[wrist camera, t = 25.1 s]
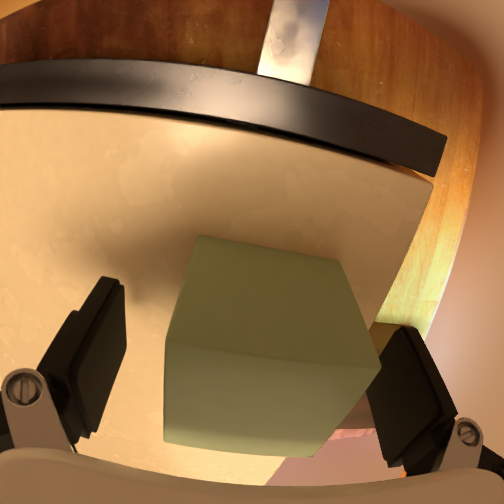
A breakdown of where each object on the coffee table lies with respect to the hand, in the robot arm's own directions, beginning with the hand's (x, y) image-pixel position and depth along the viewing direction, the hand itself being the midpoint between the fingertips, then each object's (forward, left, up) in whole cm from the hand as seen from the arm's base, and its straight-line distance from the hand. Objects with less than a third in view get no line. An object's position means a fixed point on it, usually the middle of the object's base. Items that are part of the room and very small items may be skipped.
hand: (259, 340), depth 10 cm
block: (0, 0, -2) cm, 2 cm away
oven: (+10, -15, -28) cm, 33 cm away
